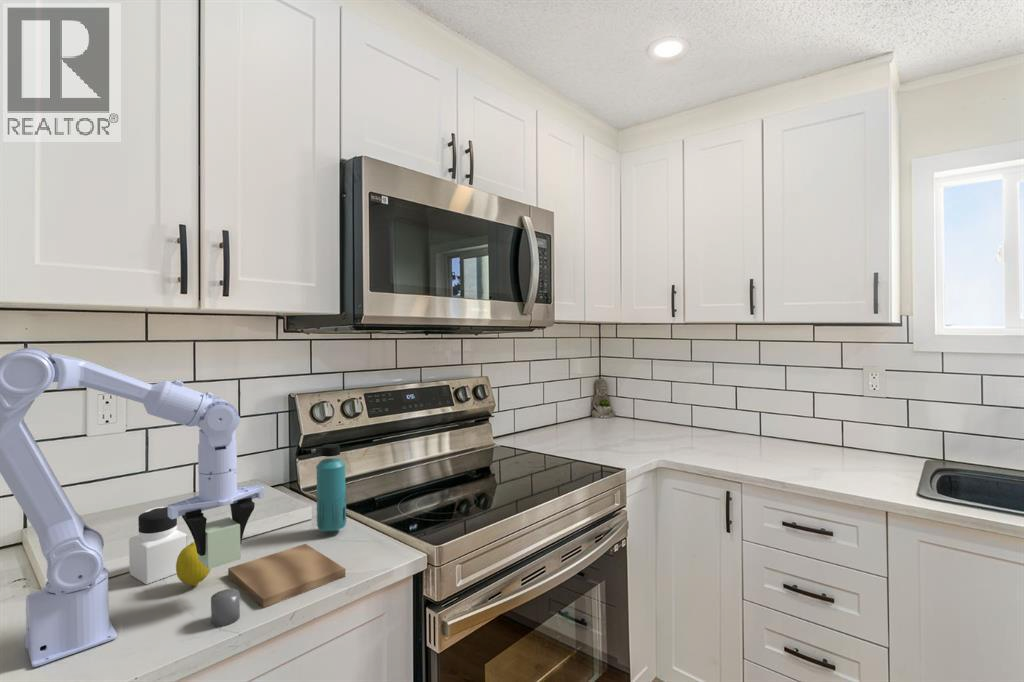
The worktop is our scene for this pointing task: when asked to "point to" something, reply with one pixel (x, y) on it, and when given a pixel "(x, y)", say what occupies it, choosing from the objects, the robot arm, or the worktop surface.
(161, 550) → the medicine bottle
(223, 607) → the charcoal canister
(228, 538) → the sage block
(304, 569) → the walnut board
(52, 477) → the robot arm
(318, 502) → the beverage bottle
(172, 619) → the worktop surface
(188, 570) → the lemon
